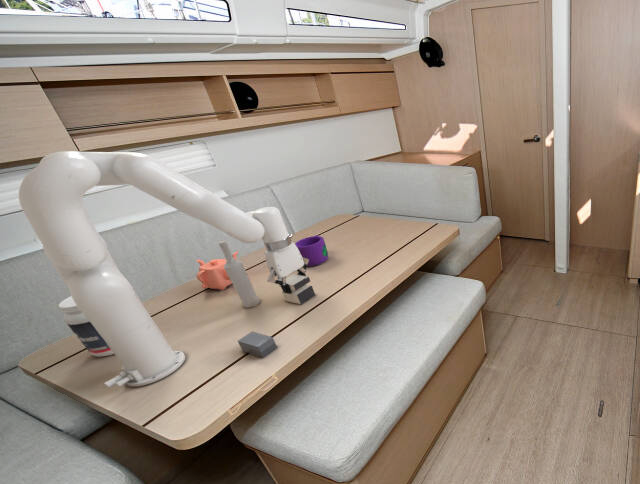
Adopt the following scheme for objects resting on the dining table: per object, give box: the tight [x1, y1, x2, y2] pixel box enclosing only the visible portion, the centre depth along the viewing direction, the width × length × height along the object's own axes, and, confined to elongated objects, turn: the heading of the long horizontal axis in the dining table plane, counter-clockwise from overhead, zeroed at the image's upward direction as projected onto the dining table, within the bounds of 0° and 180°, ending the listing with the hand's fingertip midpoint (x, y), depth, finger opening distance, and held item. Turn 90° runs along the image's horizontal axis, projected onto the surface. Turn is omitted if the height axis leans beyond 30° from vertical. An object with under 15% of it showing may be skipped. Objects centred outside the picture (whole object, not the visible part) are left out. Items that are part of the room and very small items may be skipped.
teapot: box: [195, 250, 240, 291], centre depth 139 cm, size 14×14×11 cm
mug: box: [294, 234, 329, 267], centre depth 154 cm, size 17×11×10 cm, turn 10°
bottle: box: [217, 240, 261, 309], centre depth 121 cm, size 5×5×25 cm
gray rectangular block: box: [237, 331, 278, 358], centre depth 103 cm, size 4×9×4 cm, turn 69°
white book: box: [278, 273, 311, 290], centre depth 125 cm, size 6×8×2 cm
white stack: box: [281, 284, 316, 305], centre depth 127 cm, size 6×8×4 cm
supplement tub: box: [58, 295, 115, 357], centre depth 107 cm, size 13×13×18 cm
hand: (296, 287), depth 126 cm, fingers closed on white book, 6 cm apart
